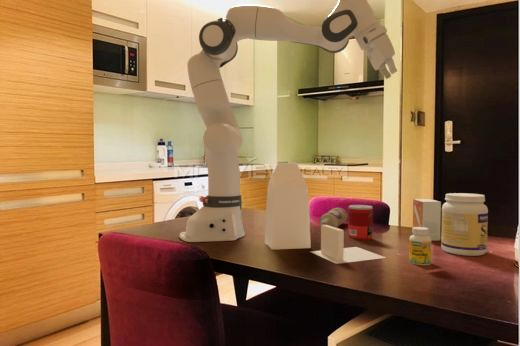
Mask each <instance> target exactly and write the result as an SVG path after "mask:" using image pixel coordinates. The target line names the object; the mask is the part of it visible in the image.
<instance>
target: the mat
mask: <svg viewBox="0 0 520 346" xmlns="http://www.w3.org/2000/svg"><path fill="white" fill-rule="evenodd" d="M311 253H312V254H313V255H316V256H318V257H320V258H322V259H325V260H327V261H329V262H331V263H334V264H336V265H337V264H346V263H356V262H363V261H372V260H373V261H374V260H378V259H379V260H380V259H387V257H386V256H382V255H380V254H378V253H376V252H372V251H370V250H367V249H364V248H361V247H358V246H353V247H351V246H350V247H344V254H343V260H336V259H334V258H332V257H329V256H327V255H325V254H322V253H321V249H319V250H314V251H313V250H312V251H310V254H311Z"/></svg>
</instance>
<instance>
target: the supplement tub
mask: <svg viewBox="0 0 520 346" xmlns="http://www.w3.org/2000/svg"><path fill="white" fill-rule="evenodd" d="M444 200H445V201H446V202H444V203H443V204H442V205H441V232H440V241H441V243H440V245H441V246H440V247H441V249H442V250H443V251H444V252H446V253H449V254H452V255H458V256H466V257H469V256H470V257H473V256H474V257H476V256H477V257H478V256H483V255H485V254H486V252H487V251H488V224H489V223H488V221H489V219H488V218H489V216H488V215H489V213H488V212H489V209H488V206H487V205H486V204H484V203H485V202H486V196H485V194H479V193H467V192H466V193H465V192H463V193H462V192H459V193H458V192H457V193H456V192H453V193H451V192H449V193H446V194H445V198H444Z"/></svg>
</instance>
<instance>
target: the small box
mask: <svg viewBox="0 0 520 346" xmlns="http://www.w3.org/2000/svg"><path fill="white" fill-rule="evenodd" d="M441 224H442V201H438V200H435V199H431V198H413V199H412V228H413V227H425V228H428V229H429V233H428V234H427V236H429V237H430V238H431V242H432V241H435V242H436V241H438V242H439V241H441Z"/></svg>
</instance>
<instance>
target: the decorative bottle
mask: <svg viewBox="0 0 520 346" xmlns="http://www.w3.org/2000/svg"><path fill="white" fill-rule="evenodd" d="M347 221H348V212H347V211H346V210H345V209H344V208H342V207H334V208H331V209H330V210H328V211H327V212H326V213H324V214H322V215H321V216H320V218H319V221H318V223H319V225H320V226H321V225H329V226H332V227H335V228H339V227H340V226H341V225H343V224H344V223H345V222H347Z"/></svg>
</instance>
